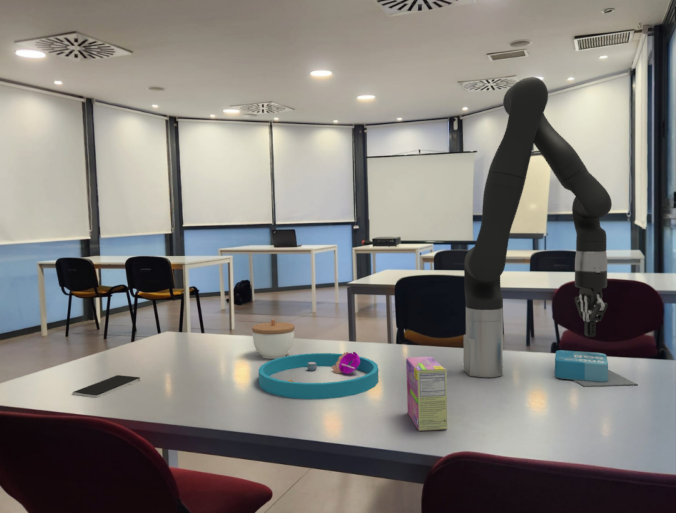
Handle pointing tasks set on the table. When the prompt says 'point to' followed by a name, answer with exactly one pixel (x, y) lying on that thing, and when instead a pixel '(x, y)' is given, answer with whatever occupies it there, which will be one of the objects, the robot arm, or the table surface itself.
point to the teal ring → (319, 390)
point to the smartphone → (106, 386)
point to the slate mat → (612, 381)
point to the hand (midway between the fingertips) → (590, 335)
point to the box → (426, 393)
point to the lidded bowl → (273, 339)
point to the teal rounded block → (581, 366)
